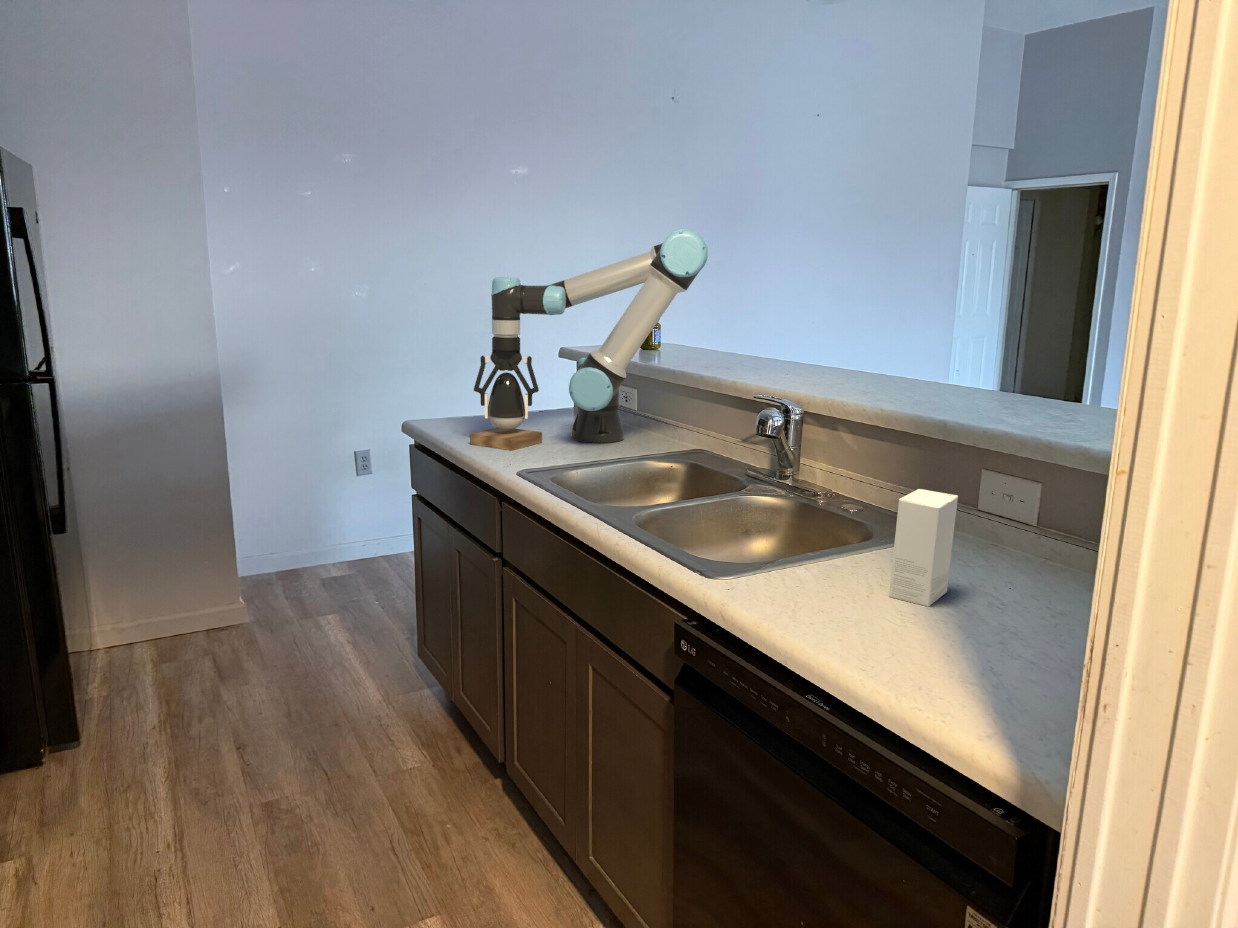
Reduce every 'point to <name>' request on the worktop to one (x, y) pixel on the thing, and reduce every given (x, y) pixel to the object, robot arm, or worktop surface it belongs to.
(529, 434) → the walnut stand
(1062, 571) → the worktop surface
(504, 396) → the glossy black egg shape
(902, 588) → the skincare box
